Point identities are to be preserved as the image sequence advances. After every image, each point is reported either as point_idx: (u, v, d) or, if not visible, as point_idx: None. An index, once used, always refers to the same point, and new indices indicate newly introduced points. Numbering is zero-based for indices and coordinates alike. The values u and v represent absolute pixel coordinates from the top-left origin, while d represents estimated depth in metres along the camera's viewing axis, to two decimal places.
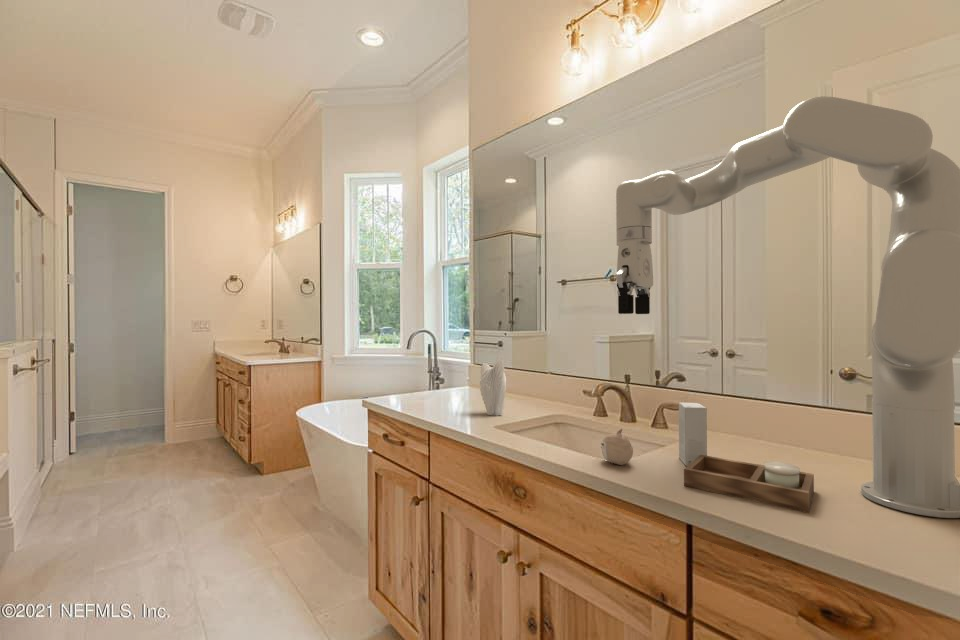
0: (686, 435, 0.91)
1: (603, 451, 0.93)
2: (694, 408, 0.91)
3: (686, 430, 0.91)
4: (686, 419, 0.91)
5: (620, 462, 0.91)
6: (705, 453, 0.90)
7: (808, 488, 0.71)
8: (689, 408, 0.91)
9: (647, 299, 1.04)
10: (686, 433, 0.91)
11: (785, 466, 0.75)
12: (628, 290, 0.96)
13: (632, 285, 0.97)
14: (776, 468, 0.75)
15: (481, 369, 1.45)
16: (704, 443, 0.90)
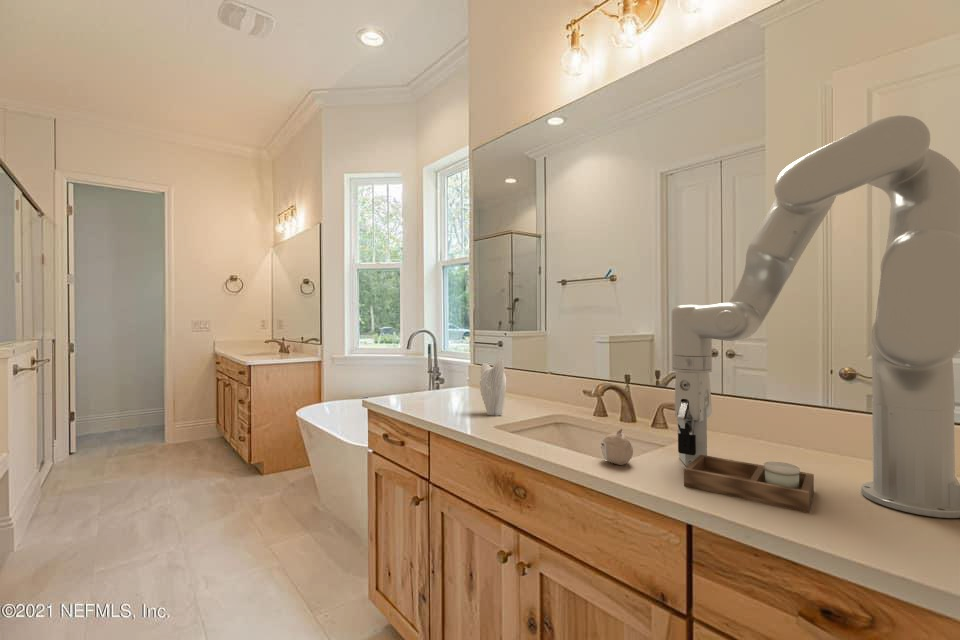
0: None
1: (603, 451, 0.93)
2: None
3: None
4: None
5: (620, 462, 0.91)
6: (705, 453, 0.90)
7: (808, 488, 0.71)
8: None
9: None
10: None
11: (785, 466, 0.75)
12: (690, 431, 0.89)
13: (693, 423, 0.90)
14: (776, 468, 0.75)
15: (481, 369, 1.45)
16: (704, 443, 0.90)
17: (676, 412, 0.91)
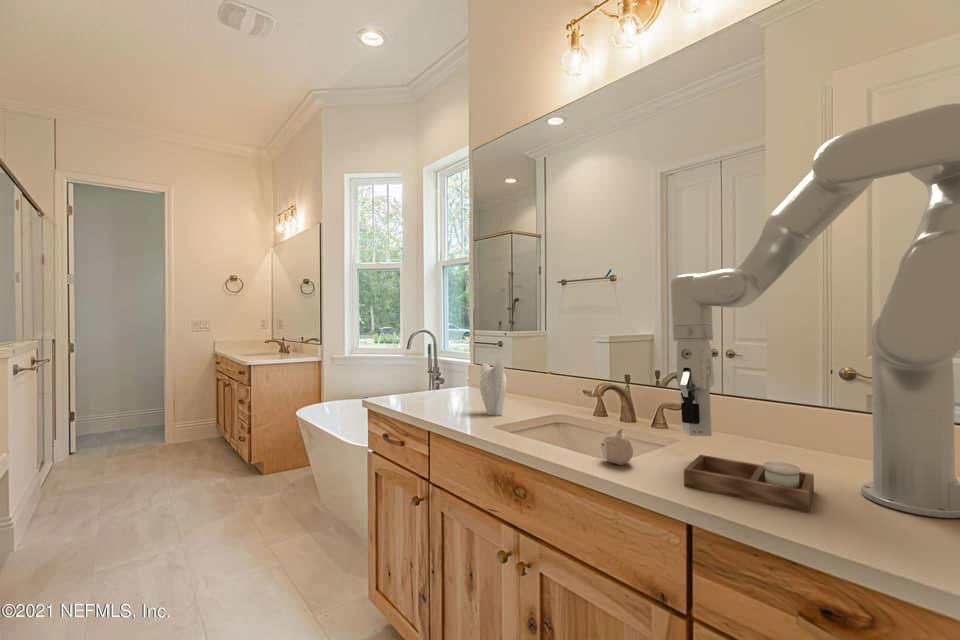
0: None
1: (603, 451, 0.93)
2: None
3: None
4: None
5: (620, 462, 0.91)
6: (709, 422, 0.90)
7: (808, 488, 0.71)
8: None
9: None
10: None
11: (785, 466, 0.75)
12: (693, 400, 0.89)
13: (696, 392, 0.89)
14: (776, 468, 0.75)
15: (481, 369, 1.44)
16: (708, 412, 0.90)
17: (678, 381, 0.91)
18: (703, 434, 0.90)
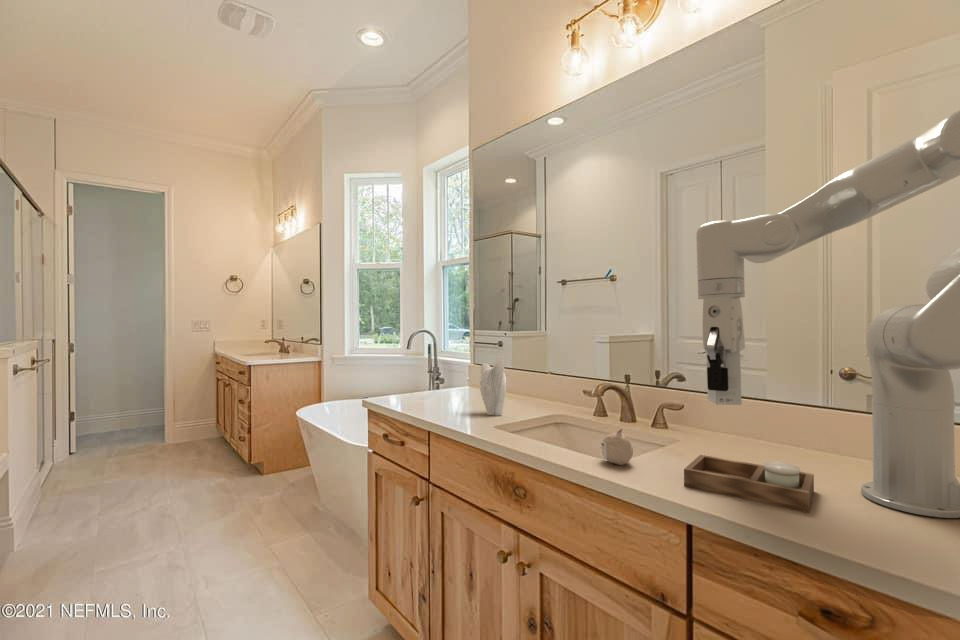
0: None
1: (603, 451, 0.93)
2: None
3: None
4: None
5: (620, 462, 0.91)
6: (739, 389, 0.79)
7: (808, 488, 0.71)
8: None
9: None
10: None
11: (785, 466, 0.75)
12: (722, 363, 0.78)
13: (725, 355, 0.78)
14: (776, 468, 0.75)
15: (481, 369, 1.45)
16: (737, 377, 0.79)
17: (704, 343, 0.80)
18: (732, 403, 0.79)
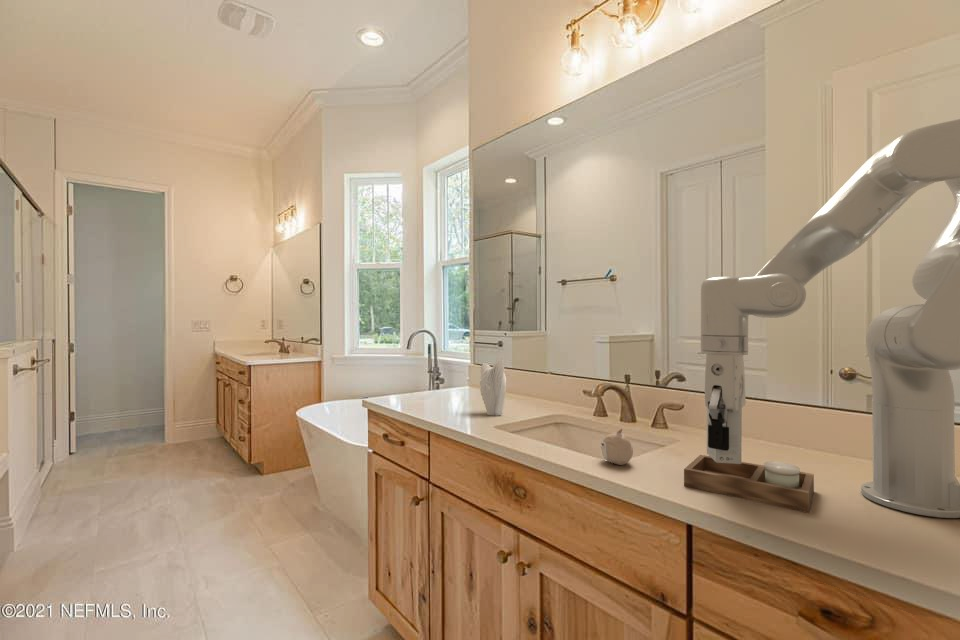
0: None
1: (603, 451, 0.93)
2: None
3: None
4: None
5: (620, 462, 0.91)
6: (739, 448, 0.78)
7: (808, 488, 0.71)
8: None
9: None
10: None
11: (785, 466, 0.75)
12: (723, 423, 0.77)
13: (727, 414, 0.77)
14: (776, 468, 0.75)
15: (481, 369, 1.45)
16: (738, 436, 0.78)
17: (706, 401, 0.78)
18: (732, 462, 0.78)
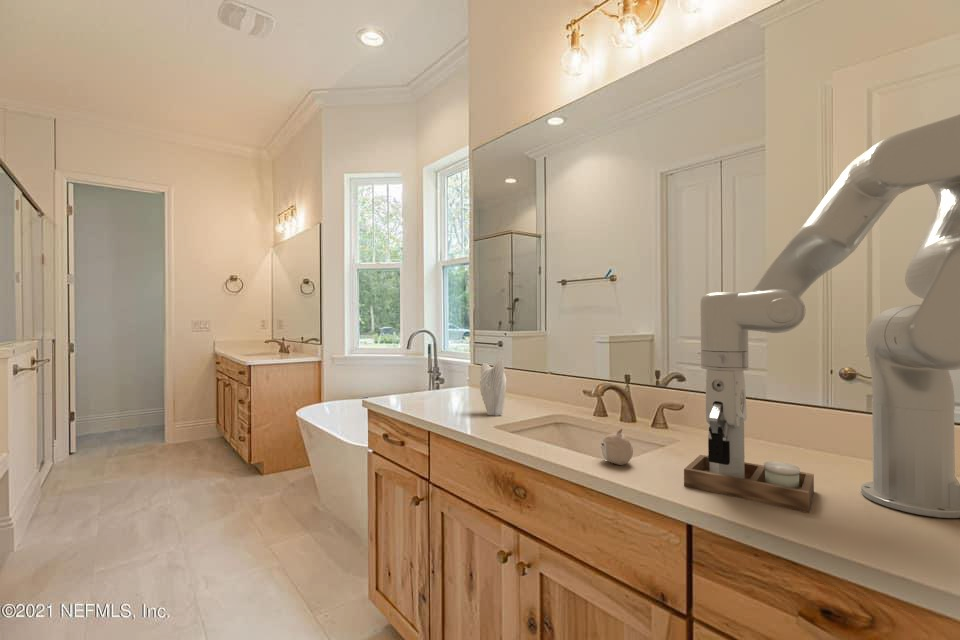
0: None
1: (603, 451, 0.93)
2: None
3: None
4: None
5: (620, 462, 0.91)
6: (742, 470, 0.78)
7: (808, 488, 0.71)
8: None
9: None
10: None
11: (785, 466, 0.75)
12: (724, 436, 0.76)
13: (727, 428, 0.77)
14: (776, 468, 0.75)
15: (481, 369, 1.45)
16: (741, 459, 0.78)
17: (707, 416, 0.78)
18: None
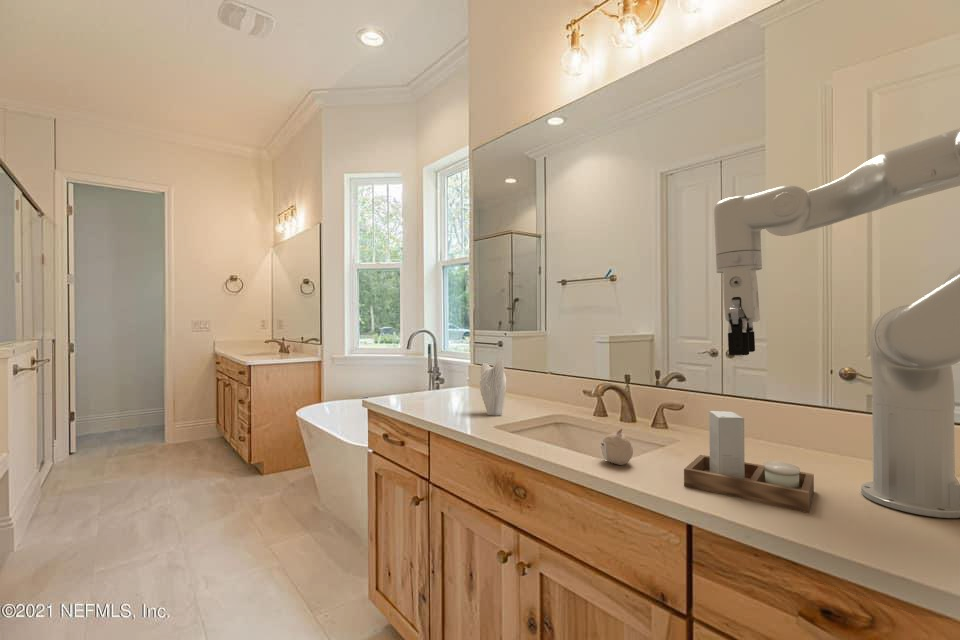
0: (720, 449, 0.79)
1: (603, 451, 0.93)
2: (729, 418, 0.78)
3: (720, 444, 0.79)
4: (720, 431, 0.79)
5: (620, 462, 0.91)
6: (742, 470, 0.78)
7: (808, 488, 0.71)
8: (724, 418, 0.79)
9: (752, 334, 0.88)
10: (720, 447, 0.79)
11: (785, 466, 0.75)
12: (743, 327, 0.80)
13: (746, 321, 0.81)
14: (776, 468, 0.75)
15: (481, 369, 1.45)
16: (741, 459, 0.78)
17: (726, 313, 0.83)
18: None
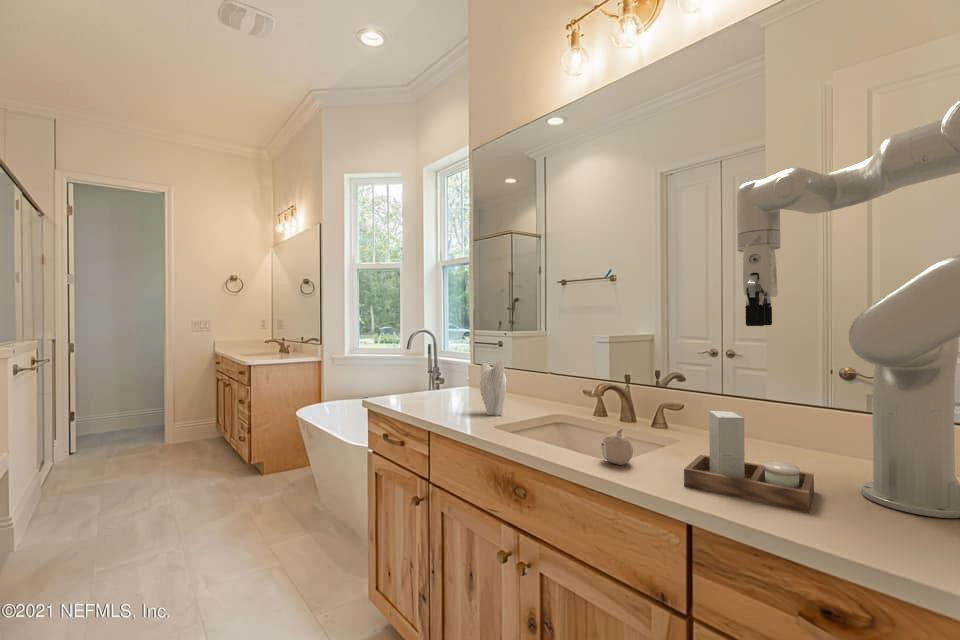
0: (720, 449, 0.79)
1: (603, 451, 0.93)
2: (729, 418, 0.78)
3: (720, 444, 0.79)
4: (720, 431, 0.79)
5: (620, 462, 0.91)
6: (742, 470, 0.78)
7: (808, 488, 0.71)
8: (724, 418, 0.79)
9: (770, 309, 0.95)
10: (720, 447, 0.79)
11: (785, 466, 0.75)
12: (760, 300, 0.87)
13: (763, 295, 0.88)
14: (776, 468, 0.75)
15: (481, 369, 1.45)
16: (741, 459, 0.78)
17: (745, 287, 0.90)
18: None
